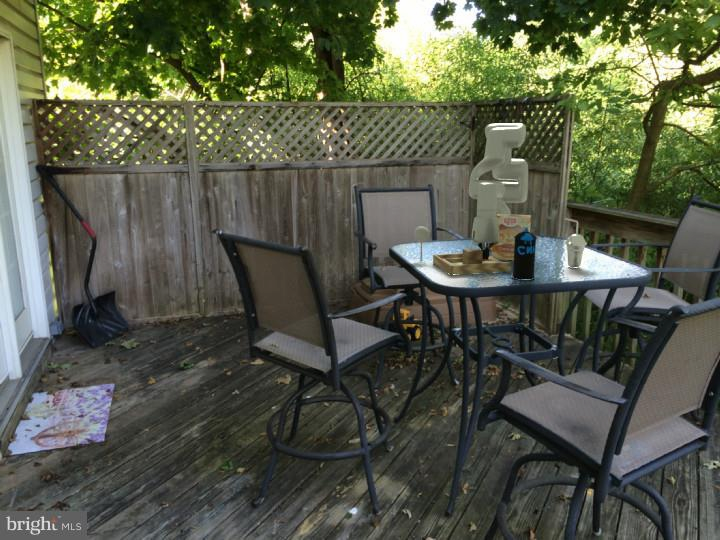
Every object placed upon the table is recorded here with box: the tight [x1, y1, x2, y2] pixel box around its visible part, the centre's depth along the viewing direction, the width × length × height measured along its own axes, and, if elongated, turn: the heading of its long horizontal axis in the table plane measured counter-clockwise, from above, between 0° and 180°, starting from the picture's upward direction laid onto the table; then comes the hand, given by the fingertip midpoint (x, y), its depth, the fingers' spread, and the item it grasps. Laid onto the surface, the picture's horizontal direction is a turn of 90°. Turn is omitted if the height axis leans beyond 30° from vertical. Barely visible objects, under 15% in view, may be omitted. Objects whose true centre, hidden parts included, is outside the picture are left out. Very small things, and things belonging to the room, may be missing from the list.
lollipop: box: [413, 225, 431, 261], centre depth 253 cm, size 7×7×15 cm
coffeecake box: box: [491, 213, 532, 261], centre depth 252 cm, size 15×7×20 cm, turn 65°
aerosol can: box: [512, 226, 538, 279], centre depth 219 cm, size 8×8×20 cm
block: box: [461, 247, 483, 265], centre depth 233 cm, size 6×6×6 cm
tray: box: [432, 251, 512, 276], centre depth 238 cm, size 25×22×4 cm
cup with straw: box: [564, 217, 588, 267], centre depth 235 cm, size 8×9×20 cm
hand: (484, 259), depth 234 cm, fingers closed
